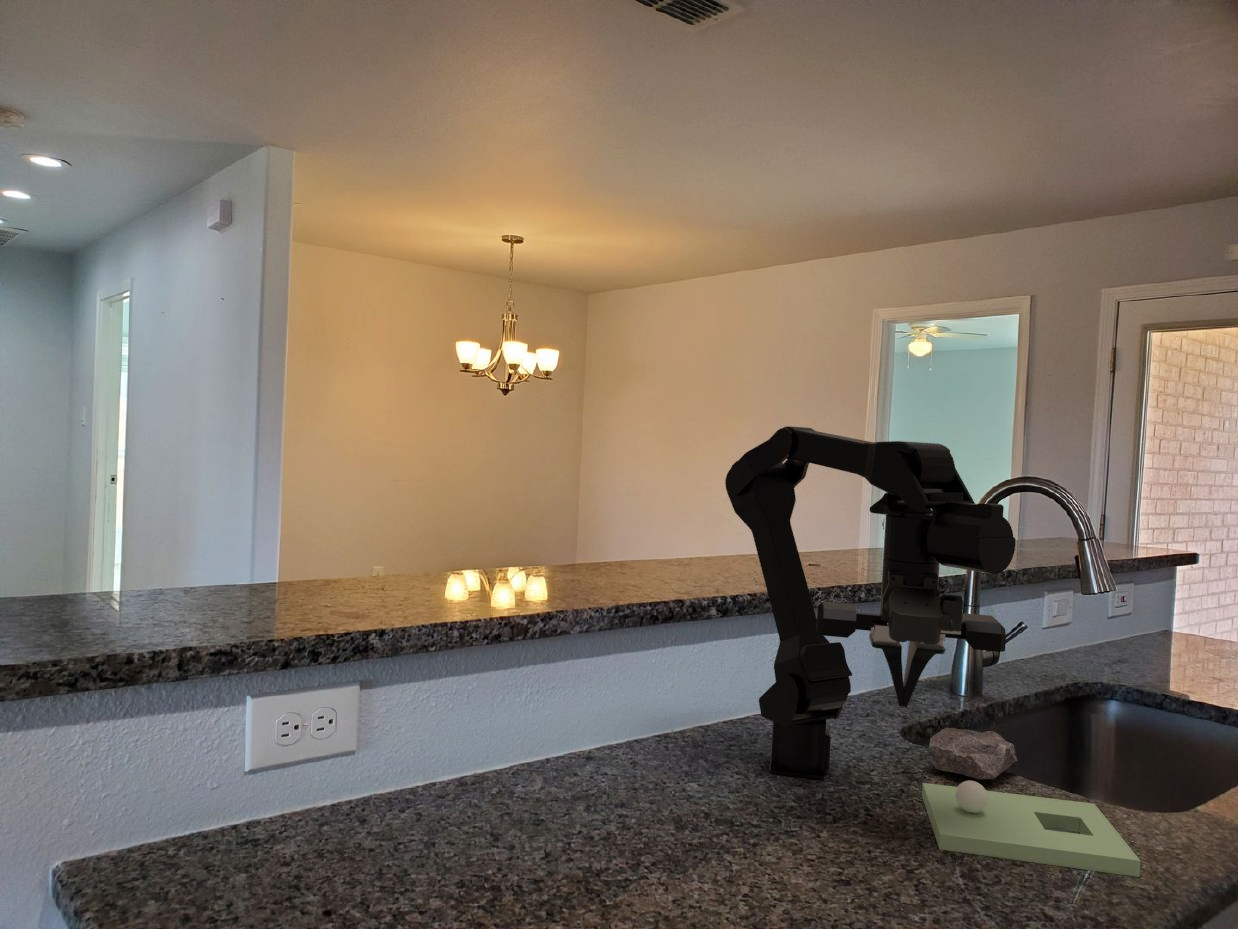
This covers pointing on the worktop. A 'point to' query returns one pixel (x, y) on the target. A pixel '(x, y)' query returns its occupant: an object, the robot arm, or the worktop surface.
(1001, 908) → the worktop surface
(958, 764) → the rock
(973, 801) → the ball
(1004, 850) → the board
